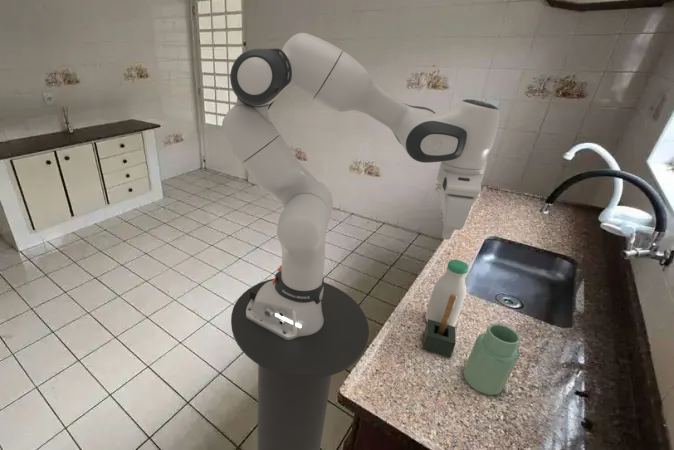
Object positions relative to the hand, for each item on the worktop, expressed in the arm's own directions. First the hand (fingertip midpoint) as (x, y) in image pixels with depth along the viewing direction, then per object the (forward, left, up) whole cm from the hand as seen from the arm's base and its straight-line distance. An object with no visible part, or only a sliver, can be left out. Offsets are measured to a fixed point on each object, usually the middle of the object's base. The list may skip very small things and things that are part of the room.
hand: (444, 228), depth 86 cm
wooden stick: (+5, -7, -30) cm, 32 cm away
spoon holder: (+5, -7, -30) cm, 32 cm away
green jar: (+15, -14, -30) cm, 37 cm away
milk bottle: (+6, +2, -30) cm, 31 cm away
